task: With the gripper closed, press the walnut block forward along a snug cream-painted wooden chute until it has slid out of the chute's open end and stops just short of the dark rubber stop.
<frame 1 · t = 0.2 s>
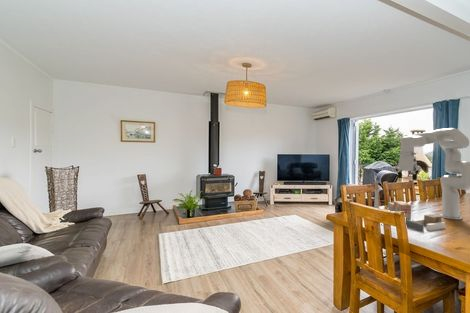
hand: (407, 179, 161), 31 cm above the table, fingers open, 9 cm apart
chute rail 2: (435, 228, 150), on the table
chute rail 1: (421, 224, 159), on the table
walnut block: (432, 226, 156), on the table
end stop: (414, 228, 151), on the table
stack of blocks: (398, 217, 176), on the table
candlestick: (376, 222, 165), on the table
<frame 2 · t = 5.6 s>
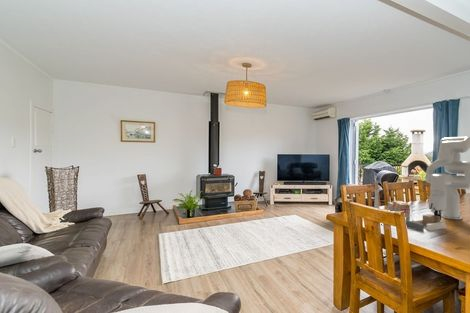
hand: (437, 219, 157), 4 cm above the table, fingers closed
walnut block: (431, 226, 155), on the table, touching gripper
everything else where it was.
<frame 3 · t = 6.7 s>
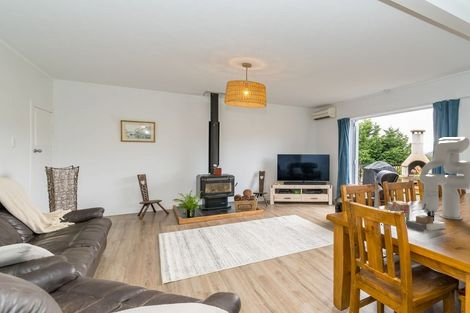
hand: (430, 220, 155), 4 cm above the table, fingers closed
walnut block: (424, 227, 153), on the table, touching gripper
everything else where it was.
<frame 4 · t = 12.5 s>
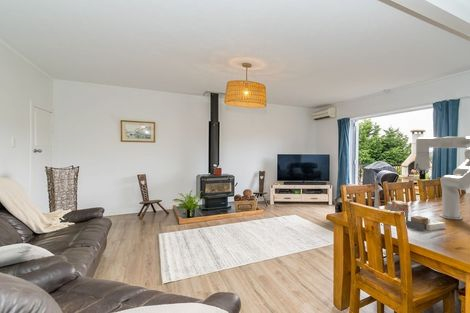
hand: (422, 179, 173), 29 cm above the table, fingers closed
walnut block: (419, 228, 152), on the table
at the end: walnut block 0.3 cm from the target spot, on the table; walnut block tilted 0°; walnut block moved 12.2 cm from its start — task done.
